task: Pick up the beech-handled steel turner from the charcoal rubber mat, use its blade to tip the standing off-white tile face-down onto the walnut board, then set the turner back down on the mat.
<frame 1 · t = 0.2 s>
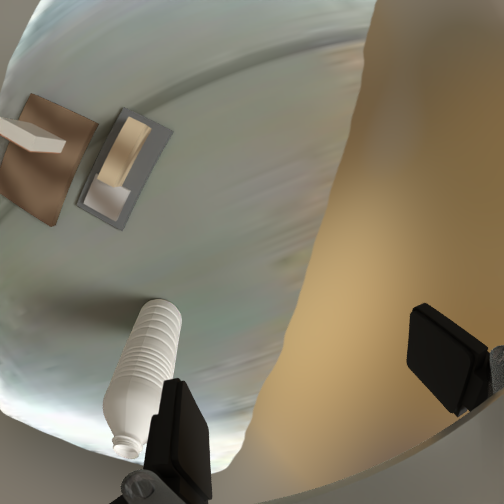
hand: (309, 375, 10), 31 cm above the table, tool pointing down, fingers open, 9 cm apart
tile: (44, 137, 31), point 1 cm above the table, touching board
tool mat: (122, 168, 35), on the table
turner: (120, 168, 35), point 1 cm above the table, touching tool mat
board: (41, 157, 32), on the table
water bottle: (167, 319, 42), on the table
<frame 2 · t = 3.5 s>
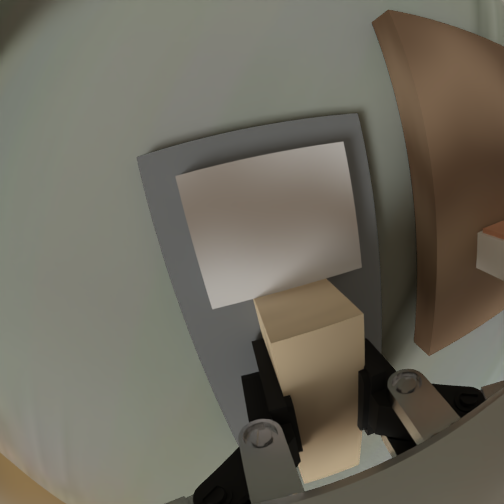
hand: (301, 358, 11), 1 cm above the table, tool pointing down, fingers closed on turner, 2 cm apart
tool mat: (290, 317, 12), on the table
turner: (293, 325, 11), point 1 cm above the table, touching gripper, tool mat
board: (494, 175, 12), on the table
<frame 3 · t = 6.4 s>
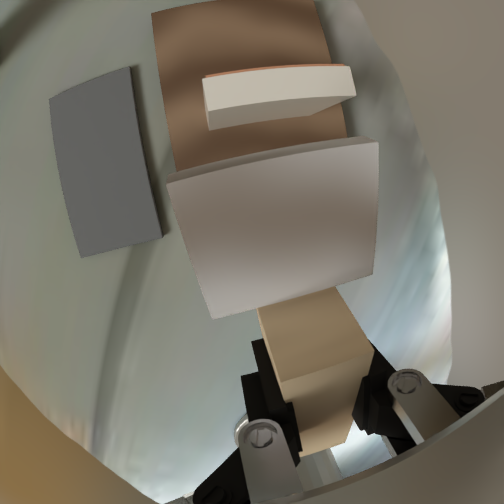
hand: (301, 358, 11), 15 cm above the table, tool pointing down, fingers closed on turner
tile: (258, 109, 20), point 1 cm above the table, touching board
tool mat: (100, 162, 21), on the table
turner: (294, 321, 11), point 15 cm above the table, tilted 16°, touching gripper
board: (249, 79, 21), on the table
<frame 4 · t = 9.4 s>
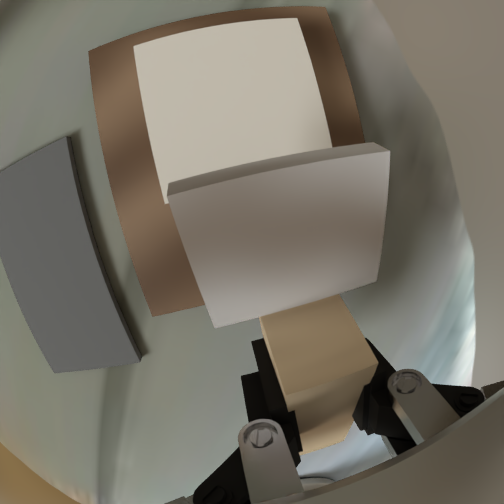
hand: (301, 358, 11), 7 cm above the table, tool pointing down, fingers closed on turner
tile: (250, 181, 14), point 2 cm above the table, tilted 90°, touching board
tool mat: (52, 269, 16), on the table
turner: (295, 325, 11), point 7 cm above the table, tilted 20°, touching gripper
board: (236, 145, 15), on the table
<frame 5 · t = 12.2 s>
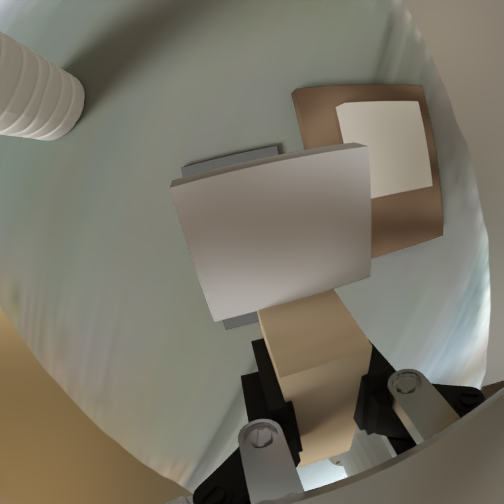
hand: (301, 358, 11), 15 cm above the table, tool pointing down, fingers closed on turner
tile: (394, 191, 23), point 2 cm above the table, tilted 90°, touching board
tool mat: (248, 241, 25), on the table
turner: (295, 326, 11), point 15 cm above the table, tilted 13°, touching gripper
board: (377, 168, 25), on the table
water bottle: (48, 113, 20), on the table
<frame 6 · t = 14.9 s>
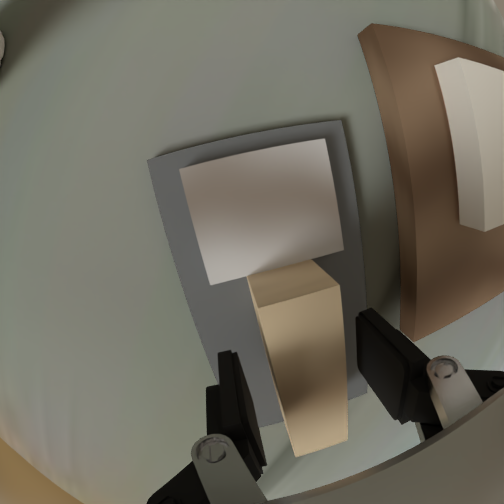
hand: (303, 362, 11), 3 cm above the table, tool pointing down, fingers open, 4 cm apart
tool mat: (282, 303, 13), on the table
turner: (284, 303, 13), point 1 cm above the table, touching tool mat
board: (476, 174, 13), on the table
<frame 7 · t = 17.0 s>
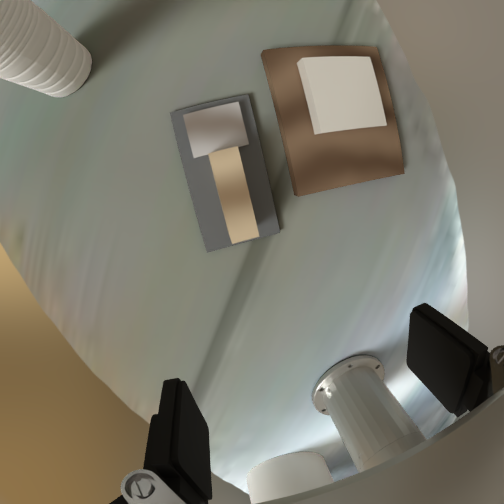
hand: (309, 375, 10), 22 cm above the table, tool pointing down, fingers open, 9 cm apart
cylinder: (285, 471, 48), on the table
tile: (351, 129, 27), point 2 cm above the table, tilted 90°, touching board
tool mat: (226, 172, 29), on the table
turner: (225, 170, 28), point 1 cm above the table, touching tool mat
board: (337, 113, 29), on the table
water bottle: (60, 76, 22), on the table
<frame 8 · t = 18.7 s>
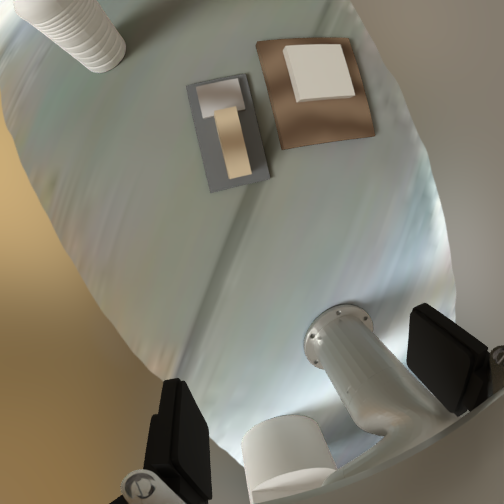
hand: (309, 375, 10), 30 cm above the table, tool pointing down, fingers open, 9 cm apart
cylinder: (281, 439, 52), on the table
tile: (326, 98, 34), point 2 cm above the table, tilted 90°, touching board
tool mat: (227, 131, 36), on the table
turner: (227, 128, 35), point 1 cm above the table, touching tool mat
board: (316, 89, 35), on the table
water bottle: (99, 57, 30), on the table
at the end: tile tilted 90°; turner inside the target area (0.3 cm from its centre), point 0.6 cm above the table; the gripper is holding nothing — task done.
